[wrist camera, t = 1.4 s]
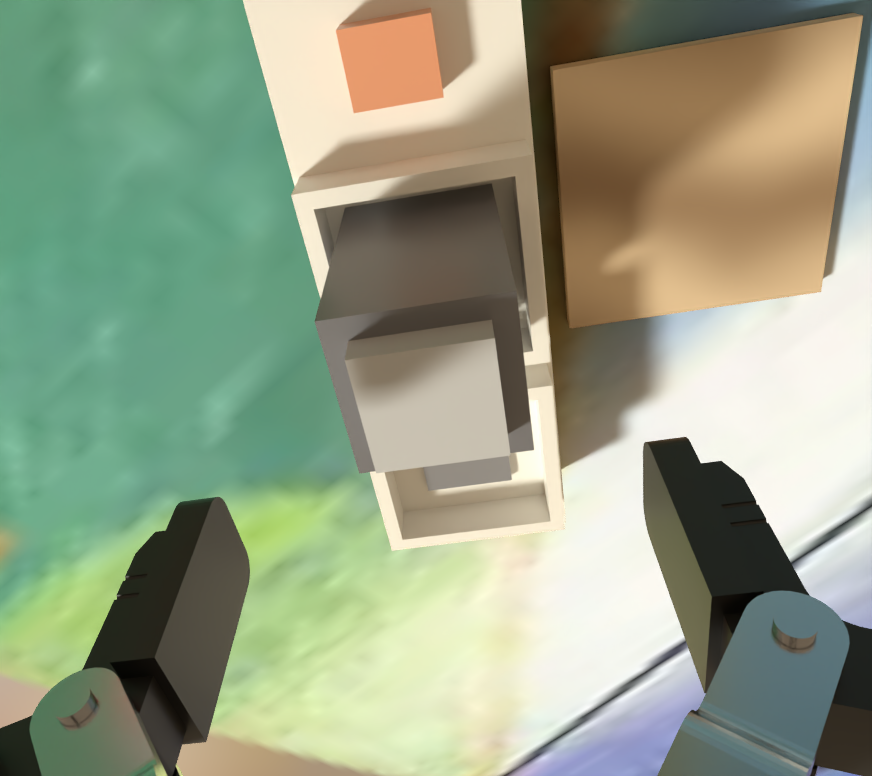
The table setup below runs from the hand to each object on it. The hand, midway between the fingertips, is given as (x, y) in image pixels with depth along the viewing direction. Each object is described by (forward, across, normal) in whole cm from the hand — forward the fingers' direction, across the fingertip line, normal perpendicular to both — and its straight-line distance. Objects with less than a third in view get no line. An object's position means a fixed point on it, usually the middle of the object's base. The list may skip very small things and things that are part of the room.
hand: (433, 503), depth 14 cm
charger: (+11, 0, 0) cm, 11 cm away
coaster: (+14, -9, 0) cm, 16 cm away
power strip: (+14, 0, 0) cm, 14 cm away
